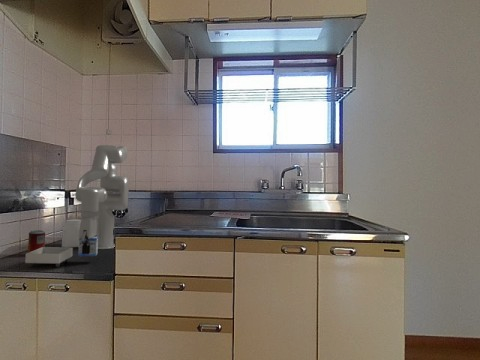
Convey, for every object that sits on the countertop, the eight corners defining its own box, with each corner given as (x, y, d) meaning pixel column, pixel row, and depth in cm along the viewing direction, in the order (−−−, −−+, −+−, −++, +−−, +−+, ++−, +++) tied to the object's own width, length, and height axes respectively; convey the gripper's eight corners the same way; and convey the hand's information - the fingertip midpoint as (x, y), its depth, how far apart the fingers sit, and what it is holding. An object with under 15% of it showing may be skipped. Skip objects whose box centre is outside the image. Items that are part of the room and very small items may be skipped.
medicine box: (77, 256, 149) (78, 238, 149) (79, 254, 154) (80, 236, 153) (96, 256, 151) (96, 238, 151) (97, 253, 156) (98, 236, 156)
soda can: (47, 254, 165) (48, 230, 165) (35, 257, 158) (36, 232, 158) (36, 252, 167) (37, 229, 167) (24, 255, 160) (25, 231, 160)
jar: (60, 247, 181) (61, 221, 181) (62, 244, 190) (64, 219, 190) (83, 246, 186) (84, 221, 186) (84, 243, 195) (85, 219, 195)
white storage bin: (41, 260, 152) (42, 247, 152) (72, 260, 154) (72, 247, 154) (24, 267, 138) (25, 253, 138) (58, 268, 140) (59, 254, 140)
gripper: (88, 211, 160) (86, 247, 161) (74, 216, 143) (72, 256, 144) (103, 212, 161) (102, 248, 161) (91, 217, 144) (89, 256, 144)
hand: (88, 251), depth 152 cm, fingers closed on medicine box, 5 cm apart
